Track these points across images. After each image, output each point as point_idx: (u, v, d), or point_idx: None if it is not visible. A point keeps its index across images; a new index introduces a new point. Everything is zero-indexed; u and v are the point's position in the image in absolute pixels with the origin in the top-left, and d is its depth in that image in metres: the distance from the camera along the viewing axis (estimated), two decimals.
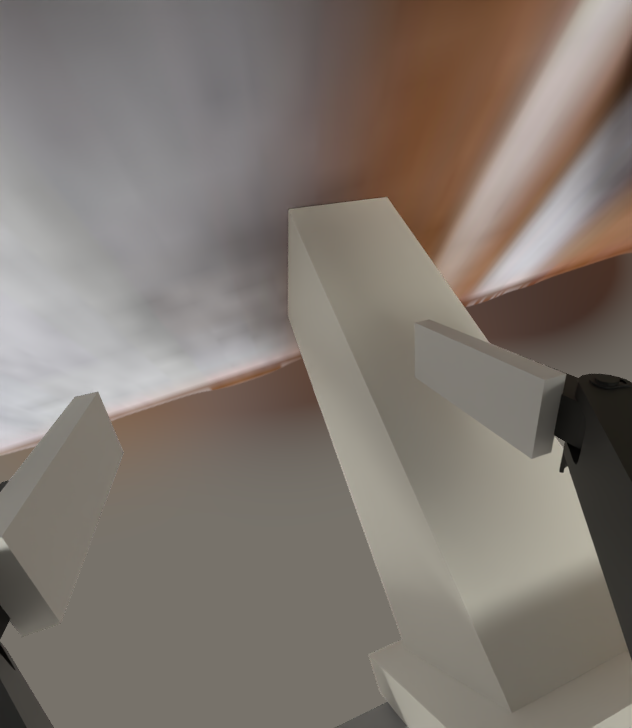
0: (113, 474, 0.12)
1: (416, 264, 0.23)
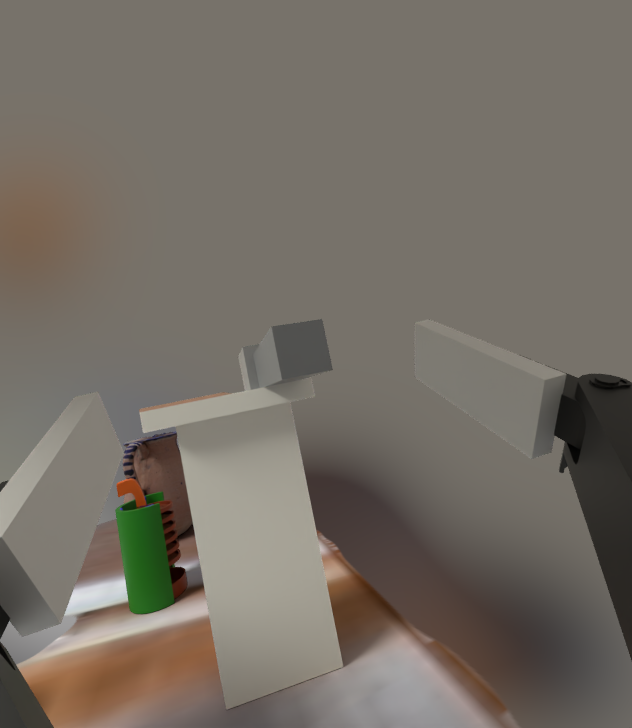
0: (113, 474, 0.12)
1: None
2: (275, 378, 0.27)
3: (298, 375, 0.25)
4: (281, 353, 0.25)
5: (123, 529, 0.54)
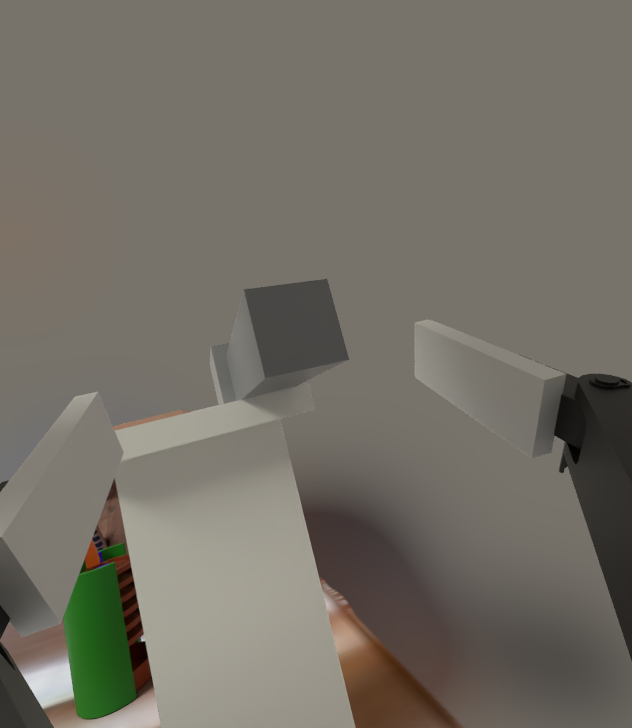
0: (113, 474, 0.12)
1: None
2: (255, 380, 0.17)
3: (293, 370, 0.15)
4: (262, 333, 0.15)
5: None
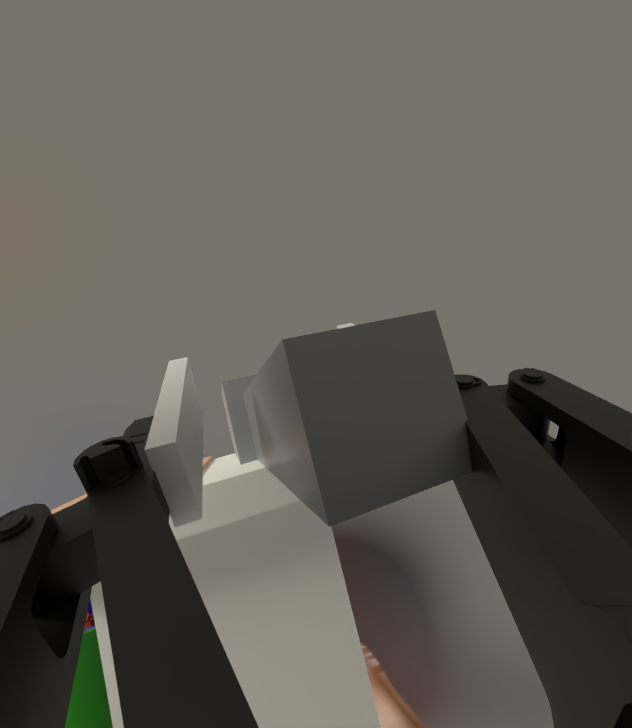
0: (202, 426, 0.14)
1: None
2: (297, 488, 0.09)
3: (382, 502, 0.07)
4: (321, 430, 0.07)
5: None
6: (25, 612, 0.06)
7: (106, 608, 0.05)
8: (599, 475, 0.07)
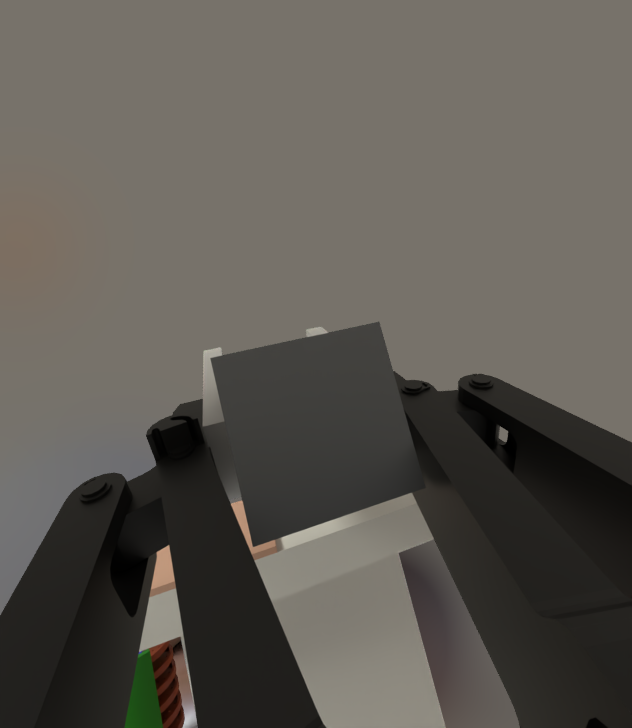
0: None
1: None
2: None
3: (311, 522, 0.07)
4: (248, 449, 0.07)
5: None
6: (105, 571, 0.06)
7: (173, 565, 0.06)
8: (551, 480, 0.08)
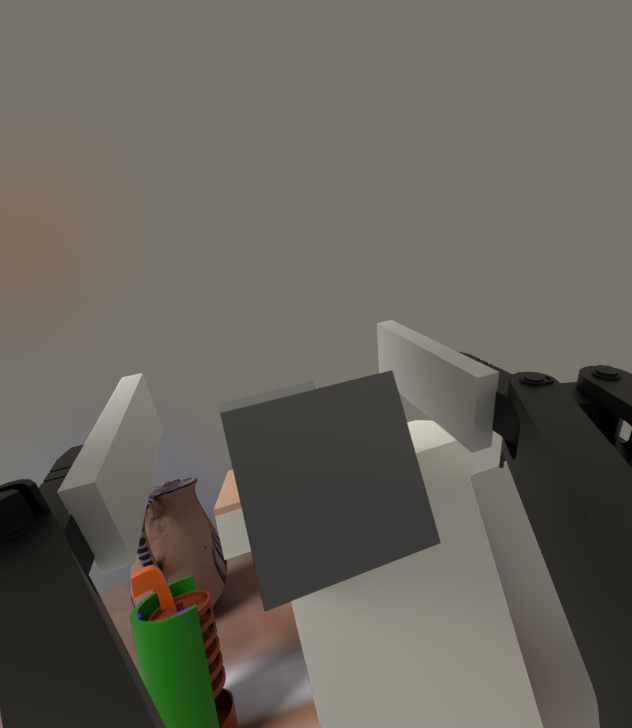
0: (157, 448, 0.13)
1: None
2: None
3: (324, 583, 0.07)
4: (259, 508, 0.07)
5: (144, 652, 0.36)
6: None
7: None
8: None
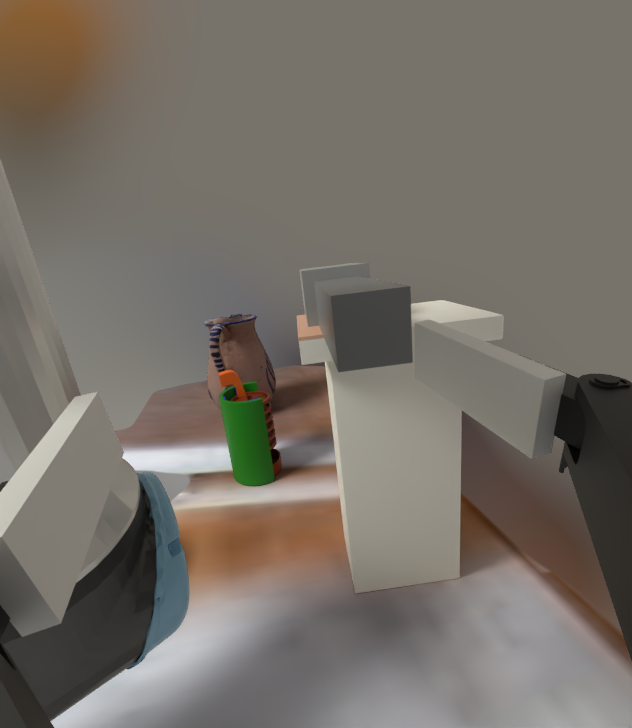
0: (113, 474, 0.12)
1: (340, 497, 0.43)
2: (332, 354, 0.20)
3: (362, 367, 0.18)
4: (341, 336, 0.17)
5: (229, 417, 0.56)
6: None
7: None
8: None
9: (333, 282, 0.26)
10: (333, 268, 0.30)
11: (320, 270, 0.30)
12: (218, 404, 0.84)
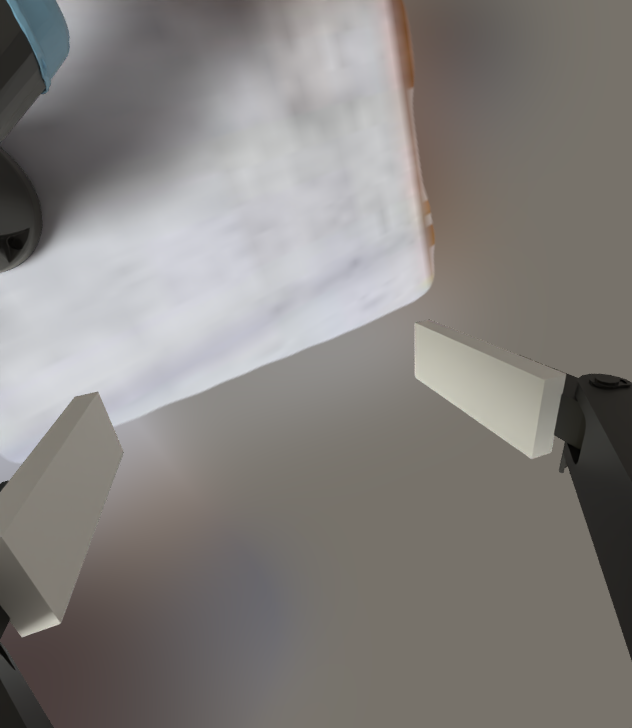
0: (113, 474, 0.12)
1: None
2: None
3: None
4: None
5: None
6: None
7: None
8: None
9: None
10: None
11: None
12: None
